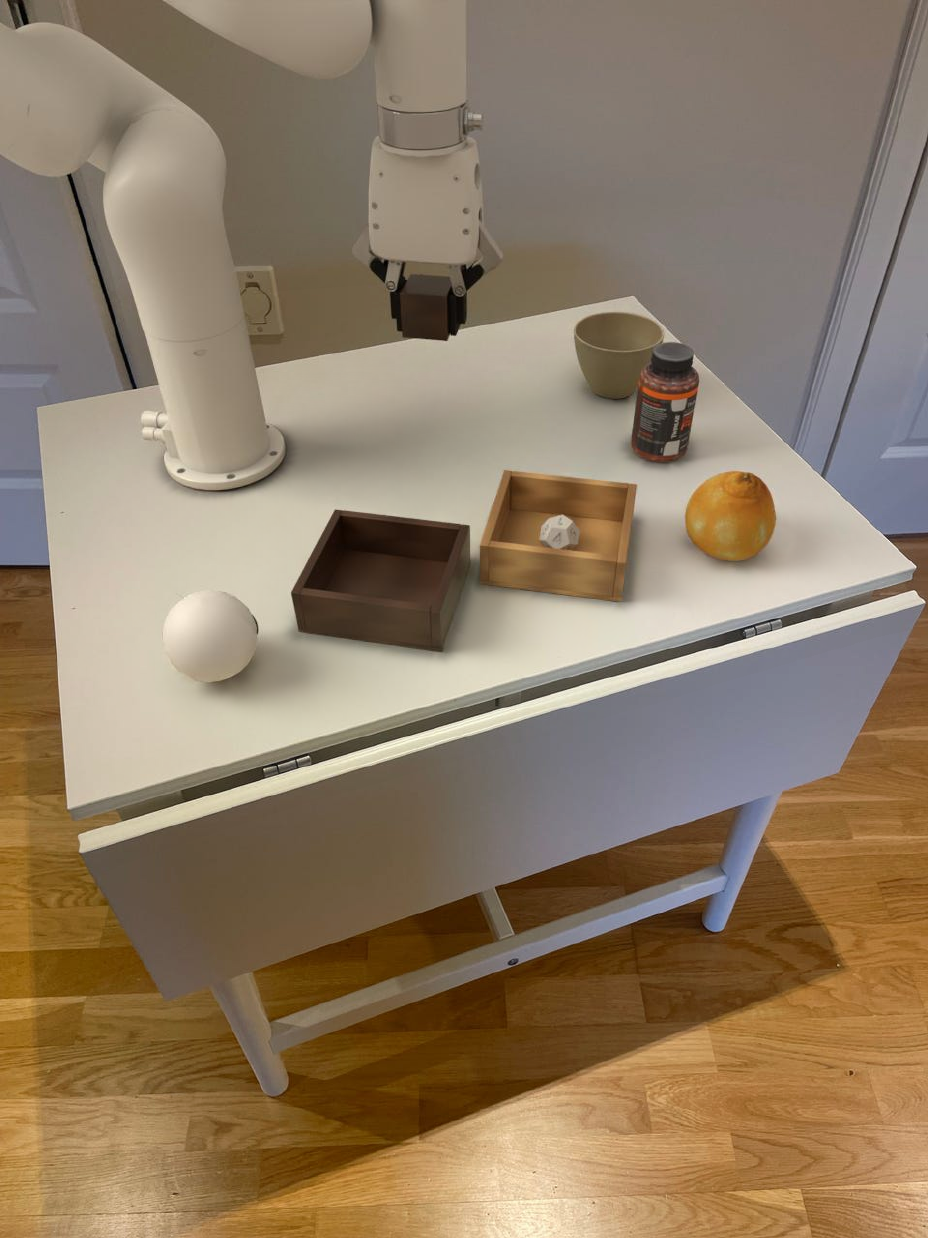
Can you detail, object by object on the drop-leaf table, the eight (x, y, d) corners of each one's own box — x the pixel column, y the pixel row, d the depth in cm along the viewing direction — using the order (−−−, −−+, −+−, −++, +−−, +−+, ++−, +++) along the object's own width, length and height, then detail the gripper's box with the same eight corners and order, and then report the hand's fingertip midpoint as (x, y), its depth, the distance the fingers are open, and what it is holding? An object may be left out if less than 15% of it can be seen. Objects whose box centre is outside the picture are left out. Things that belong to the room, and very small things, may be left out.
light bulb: (278, 680, 74) (262, 614, 68) (188, 713, 71) (165, 648, 66) (241, 606, 80) (224, 541, 75) (157, 635, 78) (134, 569, 73)
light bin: (480, 584, 82) (479, 544, 78) (503, 507, 90) (504, 469, 87) (621, 602, 79) (626, 562, 76) (632, 522, 88) (637, 483, 84)
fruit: (797, 557, 80) (789, 466, 78) (708, 574, 79) (697, 483, 77) (760, 544, 88) (751, 461, 86) (678, 560, 87) (668, 477, 85)
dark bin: (298, 631, 78) (290, 592, 74) (340, 547, 86) (334, 508, 83) (441, 652, 75) (439, 612, 72) (470, 563, 84) (470, 524, 80)
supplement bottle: (686, 467, 94) (704, 367, 86) (628, 462, 95) (640, 362, 87) (687, 436, 98) (704, 338, 90) (632, 431, 99) (644, 334, 91)
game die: (580, 537, 85) (582, 512, 83) (574, 562, 83) (577, 537, 81) (543, 533, 86) (544, 507, 84) (536, 557, 83) (537, 532, 81)
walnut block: (402, 337, 89) (399, 292, 86) (412, 317, 92) (410, 273, 89) (447, 341, 88) (446, 296, 85) (456, 320, 91) (455, 276, 88)
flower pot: (662, 409, 102) (670, 350, 97) (573, 410, 103) (577, 352, 98) (650, 366, 110) (657, 309, 105) (567, 367, 110) (570, 310, 105)
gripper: (526, 116, 79) (519, 317, 91) (339, 108, 81) (357, 305, 94) (514, 143, 74) (508, 352, 86) (314, 133, 76) (336, 338, 88)
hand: (429, 325), depth 90 cm, fingers closed on walnut block, 4 cm apart
